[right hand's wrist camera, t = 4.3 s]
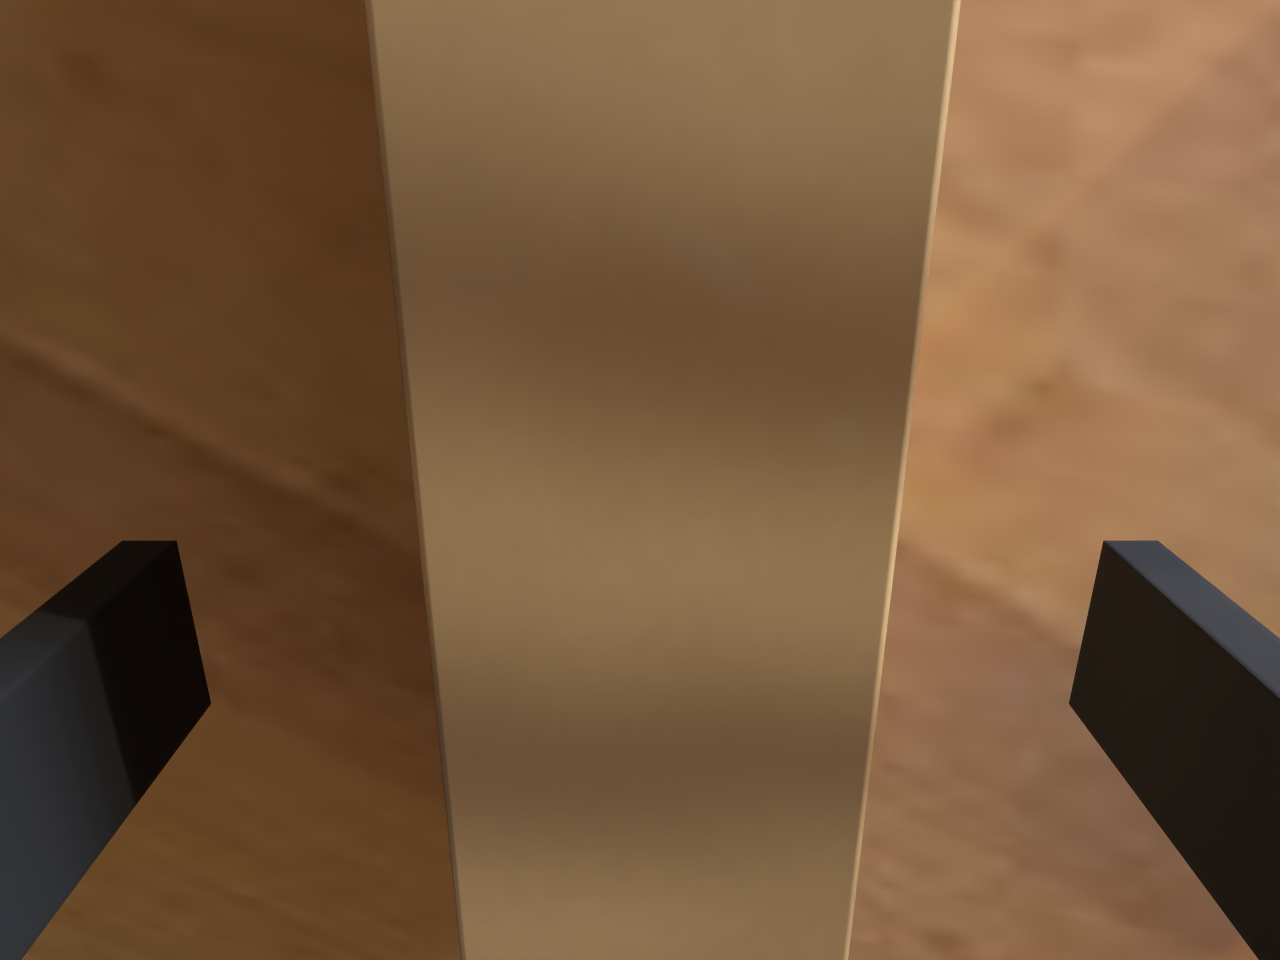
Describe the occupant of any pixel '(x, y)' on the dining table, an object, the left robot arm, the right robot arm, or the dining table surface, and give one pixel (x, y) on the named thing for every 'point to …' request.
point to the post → (658, 445)
